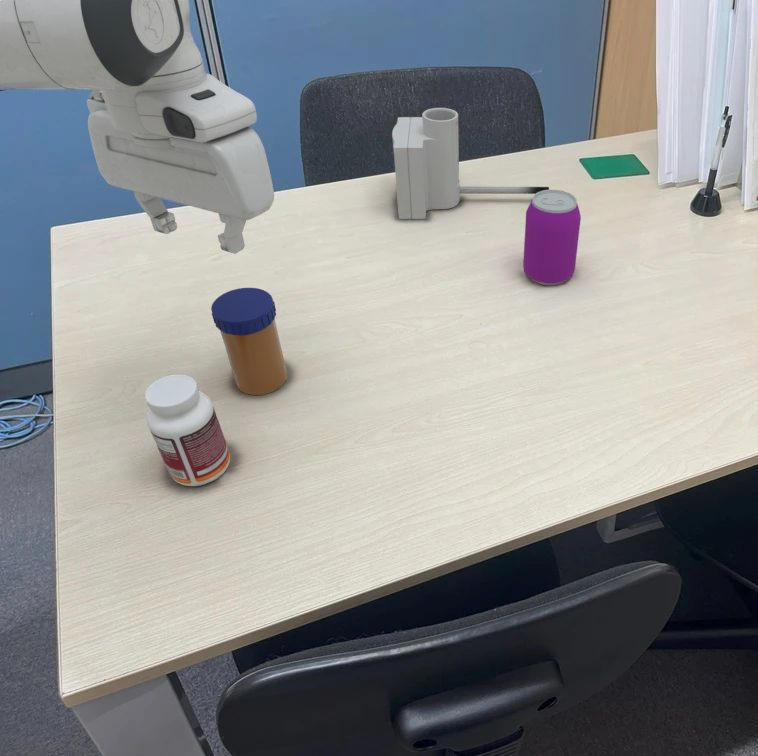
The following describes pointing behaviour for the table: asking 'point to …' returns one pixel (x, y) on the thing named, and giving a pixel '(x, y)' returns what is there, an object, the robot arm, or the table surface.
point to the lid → (243, 311)
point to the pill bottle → (186, 430)
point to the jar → (256, 360)
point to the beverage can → (551, 237)
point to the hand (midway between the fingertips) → (199, 240)
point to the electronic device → (433, 165)
